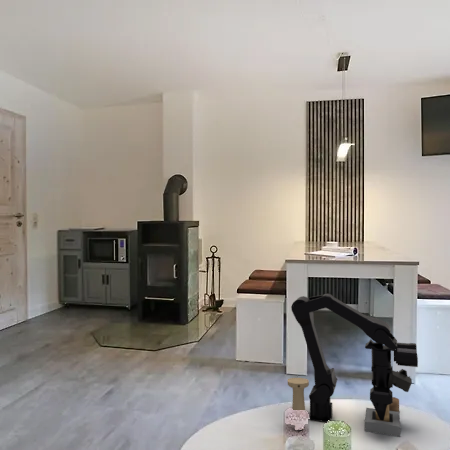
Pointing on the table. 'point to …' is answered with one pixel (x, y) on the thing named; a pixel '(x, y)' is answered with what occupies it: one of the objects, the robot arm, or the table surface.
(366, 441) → the table surface
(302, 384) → the handle
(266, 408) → the table surface
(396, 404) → the short peg
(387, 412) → the long peg
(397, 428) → the block
